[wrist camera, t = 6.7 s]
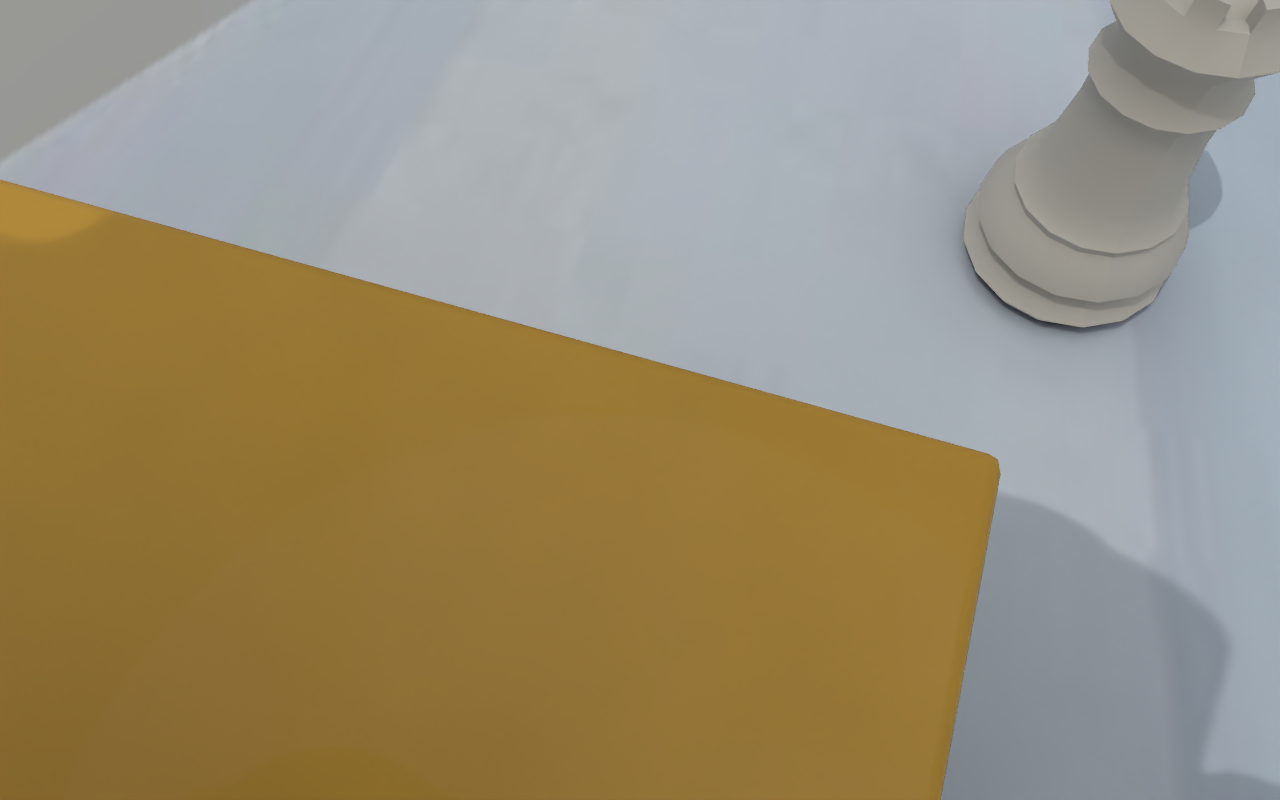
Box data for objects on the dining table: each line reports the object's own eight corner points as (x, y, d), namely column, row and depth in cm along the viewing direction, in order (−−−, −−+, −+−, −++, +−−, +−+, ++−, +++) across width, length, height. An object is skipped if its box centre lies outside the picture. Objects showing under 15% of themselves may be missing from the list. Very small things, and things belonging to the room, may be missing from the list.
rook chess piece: (1179, 339, 21) (1446, 59, 14) (969, 338, 21) (1124, 60, 14) (1138, 173, 23) (1353, -148, 16) (946, 173, 23) (1070, -145, 16)
